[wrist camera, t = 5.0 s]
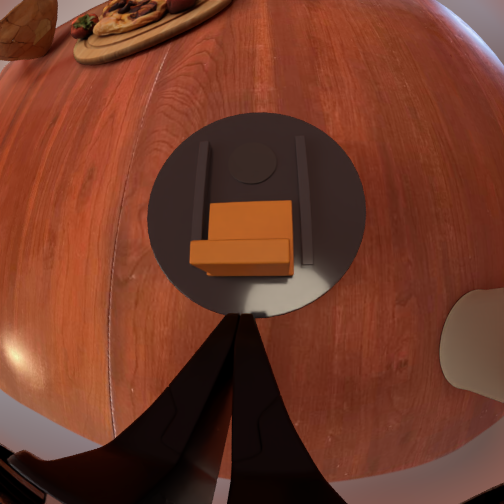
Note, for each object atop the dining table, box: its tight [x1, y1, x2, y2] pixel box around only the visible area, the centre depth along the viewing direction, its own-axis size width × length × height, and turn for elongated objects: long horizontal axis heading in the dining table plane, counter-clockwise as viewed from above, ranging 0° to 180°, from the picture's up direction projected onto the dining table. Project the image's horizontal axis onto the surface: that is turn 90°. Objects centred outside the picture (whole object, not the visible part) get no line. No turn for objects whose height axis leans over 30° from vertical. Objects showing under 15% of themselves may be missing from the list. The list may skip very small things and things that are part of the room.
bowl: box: [0, 0, 58, 61], centre depth 28 cm, size 21×20×20 cm
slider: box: [190, 200, 294, 276], centre depth 10 cm, size 3×4×3 cm
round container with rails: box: [147, 112, 366, 318], centre depth 17 cm, size 11×11×9 cm
